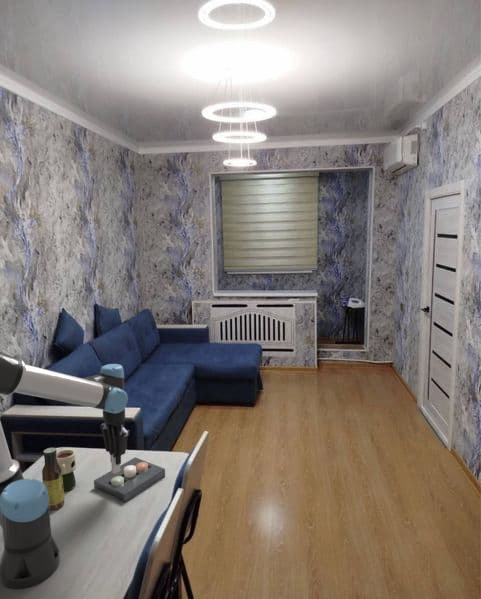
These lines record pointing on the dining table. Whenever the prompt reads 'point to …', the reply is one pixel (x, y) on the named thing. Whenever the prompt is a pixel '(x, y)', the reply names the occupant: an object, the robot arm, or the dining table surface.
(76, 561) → the dining table surface
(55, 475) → the sauce bottle
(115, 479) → the sage button
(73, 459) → the character mug
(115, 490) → the panel
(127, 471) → the cream button
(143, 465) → the terracotta button
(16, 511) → the robot arm
